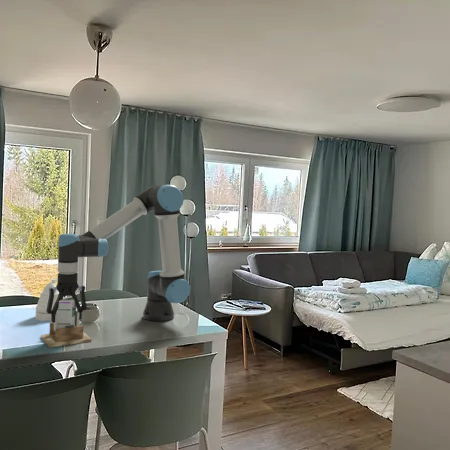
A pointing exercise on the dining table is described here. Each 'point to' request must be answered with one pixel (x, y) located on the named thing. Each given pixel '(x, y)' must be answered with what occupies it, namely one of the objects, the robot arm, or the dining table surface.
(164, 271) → the robot arm
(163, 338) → the dining table surface
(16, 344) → the dining table surface
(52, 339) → the square wooden frame
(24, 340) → the dining table surface
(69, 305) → the syrup box
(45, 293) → the honey pot
